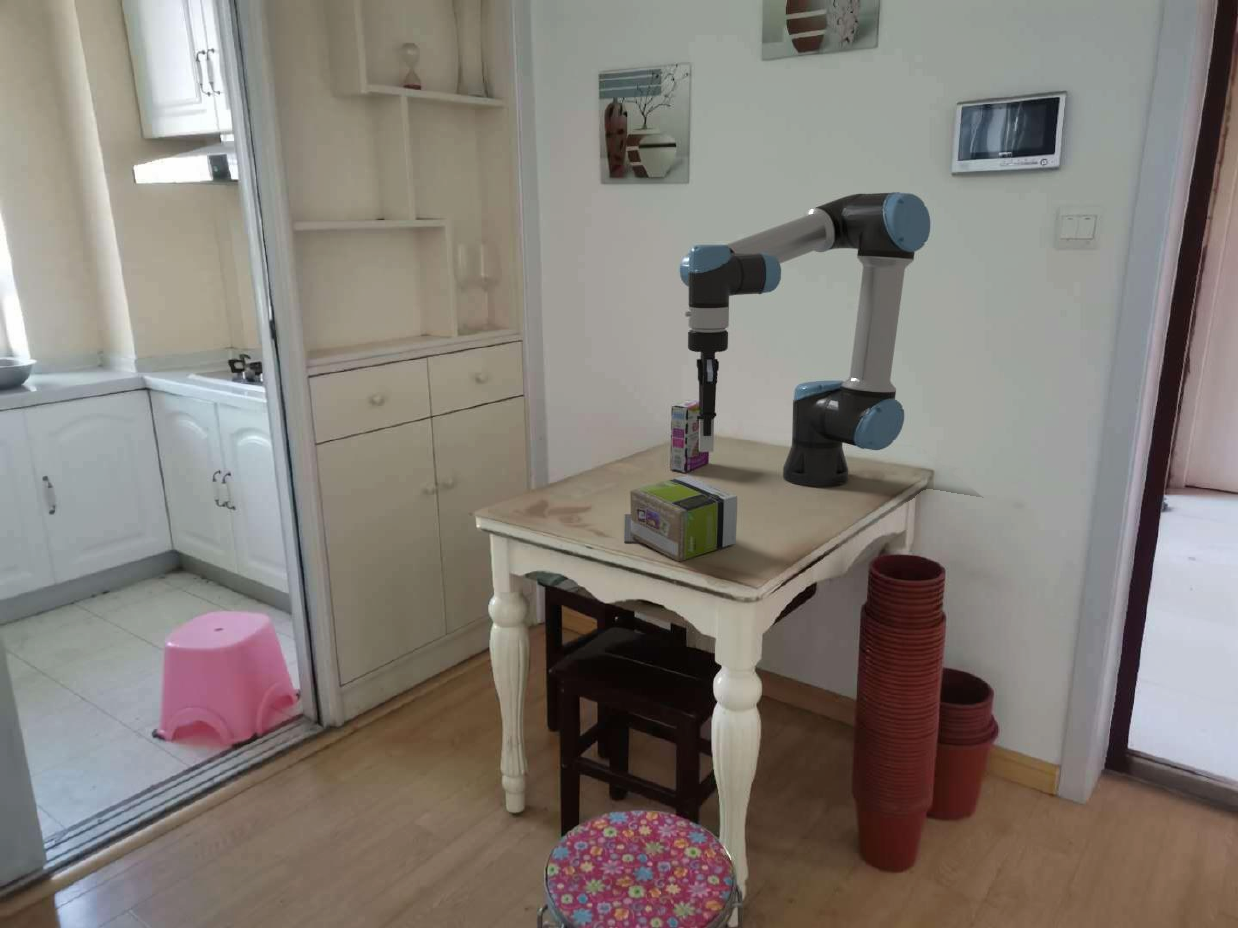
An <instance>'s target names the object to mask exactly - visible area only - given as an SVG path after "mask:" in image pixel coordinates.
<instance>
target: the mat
mask: <svg viewBox="0 0 1238 928" xmlns="http://www.w3.org/2000/svg"><path fill="white" fill-rule="evenodd" d="M623 534H624V539H623V541H624V542H623V543H624V544H643V543H642V542H640V541H638V540H636V539H634V538H633V537H631V536H630V535H631V513H624V533H623Z"/></svg>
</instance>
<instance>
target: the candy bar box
mask: <svg viewBox="0 0 1238 928" xmlns="http://www.w3.org/2000/svg"><path fill="white" fill-rule="evenodd" d="M698 407H699V398H693V399H692V398H691V399H690V400H686V401H681V402H678V403H676V404H672V405H671V410H670V411H671V412H670V413H671V415H670V416H671V417H670V423H671V424H670V461H669V463H670V464H669V465H670V466H669V467H670V468H669V470H670V471H672V472H677V473H682V474H687V473H689V472H691V471H694V470H696V469H700V468H701V467H703V466H706V465H709V463H710V462H709V459H710V452H699V419H697V416H700V415H699V412H700V411H699V409H698Z"/></svg>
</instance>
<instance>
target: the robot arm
mask: <svg viewBox="0 0 1238 928" xmlns="http://www.w3.org/2000/svg"><path fill="white" fill-rule="evenodd" d="M930 232H931V217H930V212H929V209H928V207H927V206H926V205H925V202H924V201H923V200H922V199H921V197H919V196H917V195H916V194H913V193H909V192H907V193H906V192H899V191H898V192H897V191H896V192H894V191H893V192H880V193H879V192H877V193H876V192H875V193H855V194H850V195H846V196H844V197H840V198H838V199H834V200H832V201H828V202H826V203H825V204H822V205H818V206H816V207H814V208H810V209H809V210H807V211H806V212H805V213H804V215H803V216H802V217H800V218H797V219H794V220H790V221H788V222H785V223H782V224H780V225H778V226H774V227H771V228H768V229H766V230H763V231H760V232H758V233H755V234H752V235H749V236H747V237H744V238H741V239H738V240H735V241H733V242H730V243H727V244H696V245H693V246H692V247H691V248H690V250H689V252H688V253H687V254H686V255H684V257H683V258H682V260H681V261H680V264H679V275H680V278H681V281H682V283H683V284H684V285H685V286H686V287H688V310H689V311H688V310H687V311H685V313H684V316H685V317H688V327H689V328H690V330H688V332H687V348H688V350H690V351H691V352H695V353H700V358H697V359H696V368H697V381H698V399H699V407H698V409H699V411H700V412H699V415H700V416H697V419H699V452H709V453H713V452H714V447H715V446H714V443H715V441H714V439H715V438H714V437H715V435H714V434H715V433H714V432H715V418H716V417H717V412H716V400H717V399H716V398H717V397H716V395H717V383H718V371H719V370H720V369H719V368H720V361H719V360H718V358H716V353H722V352H725V351H727V350H728V348H729V332H728V331H727V330H726V329H728V327H730V326H729V325H730V324H729V321H730V296H731V297H732V296H739V295H741V296H742V295H762V294H767V293H771V292H774V290H776V289H777V288H778V286H779V284H780V281H781V280H782V266H781V264H783V263H785V262H788V261H790V260H793V259H796V258H798V257H801V256H803V255H807V254H809V253H811V252H817V253H824V252H827V251H830V250H836V249H853V250H855V249H856V250H857V254H856V258H857V259H858V261H859V262H860V263H861V264H862V267H863V268H862V275H861V283H860V290H859V300H858V306H857V313H856V314H857V315H856V323H855V331H854V338H853V339H854V340H853V341H854V342H853V347H852V356H851V364H850V370H849V371H850V372H849V377H848V378H847V379H845V381H843V380H817V381H807V382H802V383H799V384H797V386H796V387H795V389H794V393H793V400H792V429H791V431H792V433H791V434H792V436H791V445H790V446H791V447H790V449H789V452H788V454H787V458H786V459H785V462H784V465H783V469H782V478H783V479H784V480H786V481H788V482H789V483H792V484H795V485H801V486H807V487H817V488H818V487H834V486H840V485H844V484H845V483H847V482H848V480H849V474H850V473H849V472H850V471H849V466H848V464H847V461H846V456H845V452H844V449H843V444H847V445H850V446H854V447H857V448H858V449H860V450H861V449H863V450H865V449H866V450H870V451H880V450H883V449H886V448H888V447H890V445H892V444H893V442H894V441H895V440H896V439H897V438H898V437H899V435H900V433H901V431H902V429H903V425H904V423H905V422H904V421H905V409H904V408H903V405H902V404H901V402H900V401H899V400H897V399H896V395H897V388H896V387H895V386H894V384H893V383H892V381H891V377H892V370H893V369H892V368H893V361H894V356H895V355H894V353H895V346H896V339H897V331H898V325H899V324H898V323H899V316H900V309H901V301H902V293H903V285H904V278H905V271H906V269H907V267H908V266H910V265H911V264H912V263H913V262H914V260H915V259H914V258H915V253H916V252H917V251H920V250H921V249H922V248H923V247H924V246H925V243H926V242H927V241H928V240H929V236H930Z"/></svg>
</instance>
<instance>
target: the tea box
mask: <svg viewBox="0 0 1238 928" xmlns="http://www.w3.org/2000/svg"><path fill="white" fill-rule="evenodd" d="M629 493H630V495H629V497H630V514H631V535H630V536H631V537H633V538H634V539H636V540H638V541H640V542H642V543H641V544H644V545H646V546H648V547H650V548H652V549H653V550H655V551H657V552H659V553H661V554H663V555H665V556H666V557H668V558H670V559H673V560H675V561H676V562H682V561H686V560H688V559H692V558H694V557H697V556H701V555H704V554H706V553H710V552H713V551H715V550H719V549H722V548H725V547H729V546H730V545H734V544H735V543H736V542H737V541H736V540H737V522H738V521H737V519H738V496H737V495H735V494H733V493H731V492H728V491H725V490H723V489H721V488H718V487H716V486H714V485H712V484H709V483H706V482H704V481H701V480H700V479H697V478H696V477H693V476H690V475H688V474H687V475H684V476H680V477H677V478H674V479H668V480H665V481H662V482H658V483H654V484H651V485H647V486H643V487H639V488H636V489H632V490H630V491H629Z"/></svg>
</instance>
